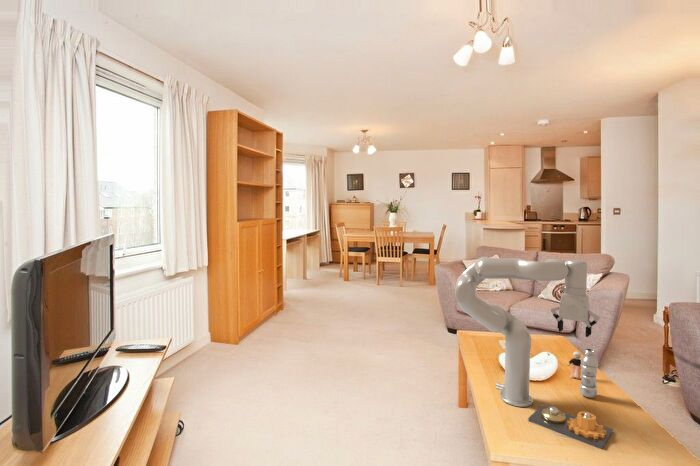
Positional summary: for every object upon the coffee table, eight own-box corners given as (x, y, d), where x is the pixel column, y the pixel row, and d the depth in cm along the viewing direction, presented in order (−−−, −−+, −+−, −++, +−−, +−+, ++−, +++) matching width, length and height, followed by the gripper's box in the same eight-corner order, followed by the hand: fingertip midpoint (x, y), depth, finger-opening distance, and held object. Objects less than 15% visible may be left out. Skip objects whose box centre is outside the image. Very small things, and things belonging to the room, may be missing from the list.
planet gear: (562, 429, 138) (563, 415, 138) (573, 416, 146) (573, 403, 146) (600, 443, 129) (601, 428, 129) (609, 429, 138) (610, 415, 137)
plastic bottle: (577, 396, 164) (578, 350, 163) (581, 390, 169) (583, 346, 168) (594, 401, 160) (596, 354, 159) (599, 395, 165) (600, 350, 163)
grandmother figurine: (568, 378, 181) (569, 352, 180) (566, 375, 185) (567, 349, 184) (587, 380, 179) (588, 353, 179) (584, 377, 183) (585, 350, 182)
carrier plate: (528, 420, 146) (528, 402, 145) (542, 407, 155) (542, 390, 155) (602, 449, 128) (602, 428, 128) (612, 432, 138) (613, 412, 137)
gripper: (548, 289, 156) (547, 330, 157) (597, 296, 144) (596, 340, 145) (555, 286, 162) (554, 326, 163) (603, 293, 149) (601, 336, 150)
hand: (573, 333), depth 154 cm, fingers open, 9 cm apart
